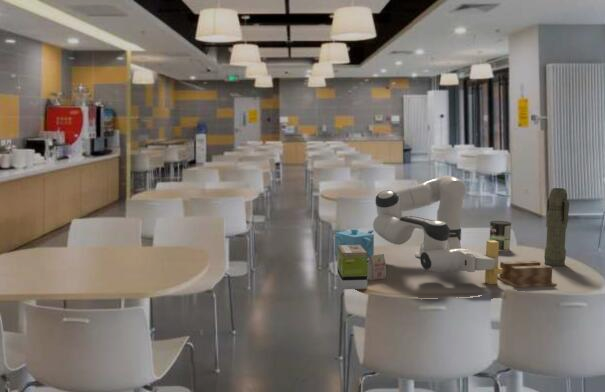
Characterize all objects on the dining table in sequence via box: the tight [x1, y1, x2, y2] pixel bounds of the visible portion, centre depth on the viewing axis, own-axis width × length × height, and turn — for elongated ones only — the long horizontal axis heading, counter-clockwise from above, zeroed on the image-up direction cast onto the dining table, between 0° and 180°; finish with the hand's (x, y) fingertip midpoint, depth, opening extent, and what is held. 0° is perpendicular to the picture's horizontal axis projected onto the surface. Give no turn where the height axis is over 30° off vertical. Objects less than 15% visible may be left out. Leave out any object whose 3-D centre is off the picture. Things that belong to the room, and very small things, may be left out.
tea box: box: [336, 245, 368, 290], centre depth 241 cm, size 15×10×15 cm, turn 5°
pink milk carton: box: [367, 253, 387, 281], centre depth 251 cm, size 4×7×10 cm, turn 117°
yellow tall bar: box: [484, 240, 503, 285], centre depth 244 cm, size 4×11×17 cm, turn 10°
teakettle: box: [333, 228, 375, 259], centre depth 285 cm, size 19×19×15 cm
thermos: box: [543, 187, 570, 267], centre depth 277 cm, size 9×12×35 cm
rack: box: [497, 260, 558, 288], centre depth 248 cm, size 18×16×7 cm
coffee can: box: [489, 220, 512, 252], centre depth 312 cm, size 10×10×14 cm
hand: (494, 258), depth 244 cm, fingers closed on yellow tall bar, 3 cm apart
